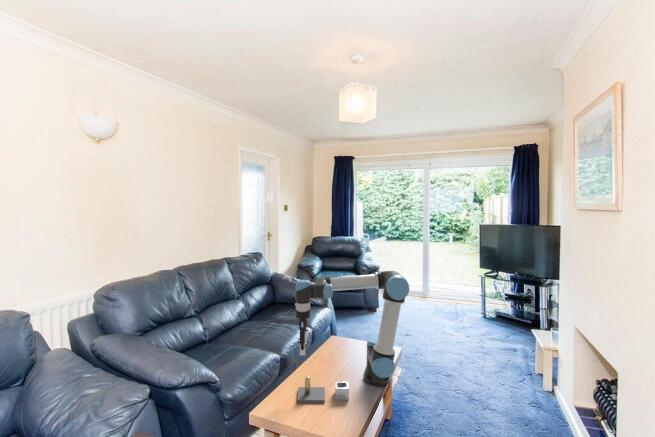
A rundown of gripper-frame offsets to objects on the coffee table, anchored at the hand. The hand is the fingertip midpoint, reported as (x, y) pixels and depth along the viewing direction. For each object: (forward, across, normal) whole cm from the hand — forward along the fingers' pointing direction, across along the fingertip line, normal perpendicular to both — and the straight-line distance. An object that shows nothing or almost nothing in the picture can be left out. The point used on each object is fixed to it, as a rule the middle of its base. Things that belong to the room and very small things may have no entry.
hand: (303, 349), depth 180 cm
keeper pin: (+22, +3, +2) cm, 23 cm away
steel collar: (+24, +3, +20) cm, 32 cm away
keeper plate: (+24, +3, +4) cm, 24 cm away
